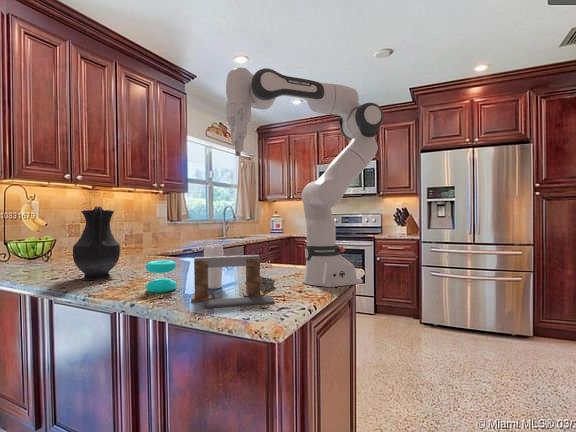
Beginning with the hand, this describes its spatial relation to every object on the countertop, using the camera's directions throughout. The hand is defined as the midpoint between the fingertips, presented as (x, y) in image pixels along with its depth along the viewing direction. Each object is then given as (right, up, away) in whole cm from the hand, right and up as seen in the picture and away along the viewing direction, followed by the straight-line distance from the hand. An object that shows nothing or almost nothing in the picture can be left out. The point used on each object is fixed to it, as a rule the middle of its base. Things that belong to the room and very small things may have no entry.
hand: (239, 153), depth 120 cm
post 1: (-9, -48, -16) cm, 52 cm away
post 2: (+6, -48, -13) cm, 50 cm away
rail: (-2, -38, -15) cm, 41 cm away
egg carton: (+8, -48, -2) cm, 49 cm away
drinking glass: (-9, -48, 0) cm, 49 cm away
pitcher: (-62, -49, +20) cm, 81 cm away
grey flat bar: (+3, -48, -21) cm, 52 cm away
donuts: (-27, -49, -3) cm, 55 cm away
